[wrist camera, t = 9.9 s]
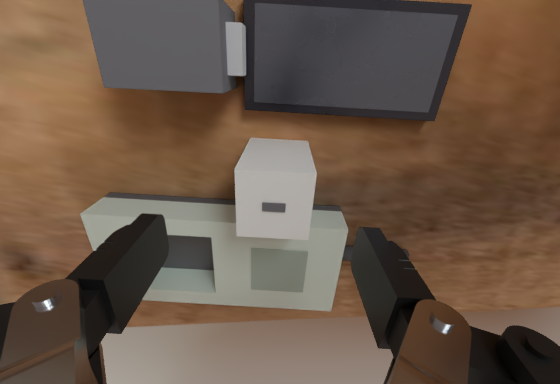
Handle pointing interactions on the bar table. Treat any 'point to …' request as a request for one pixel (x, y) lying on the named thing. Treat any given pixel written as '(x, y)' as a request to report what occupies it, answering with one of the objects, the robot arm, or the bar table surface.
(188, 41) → the plug
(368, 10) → the phone
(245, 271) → the strip
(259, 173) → the charger
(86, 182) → the bar table surface
